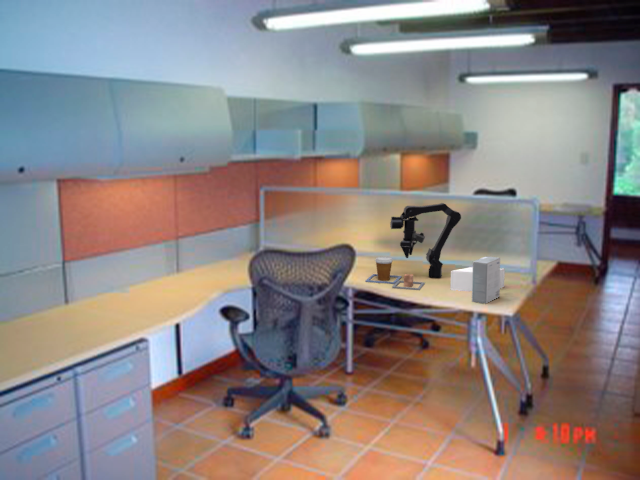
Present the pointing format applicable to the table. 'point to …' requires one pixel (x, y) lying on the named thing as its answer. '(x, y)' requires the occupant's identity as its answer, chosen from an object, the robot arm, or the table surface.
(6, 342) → the table surface
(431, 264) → the robot arm
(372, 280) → the frame cup
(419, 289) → the frame empty
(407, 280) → the block
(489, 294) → the hard drive box
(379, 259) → the disposable coffee cup
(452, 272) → the white box
